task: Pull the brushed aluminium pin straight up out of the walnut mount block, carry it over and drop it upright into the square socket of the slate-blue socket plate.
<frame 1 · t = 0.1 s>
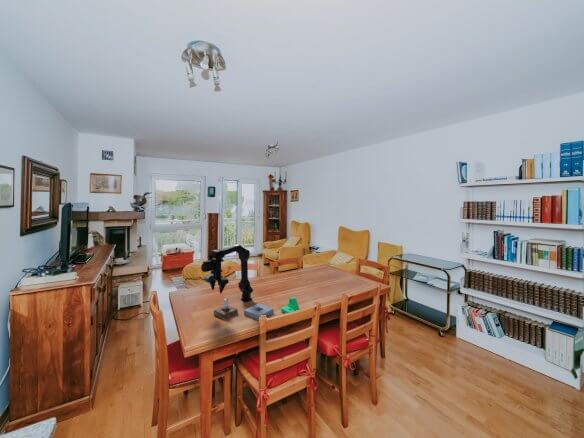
hand: (216, 291, 168), 14 cm above the table, fingers open, 9 cm apart
mount block: (225, 313, 167), on the table
socket plate: (258, 313, 169), on the table
pin: (225, 306, 167), in the mount block
camera mount: (290, 313, 171), on the table
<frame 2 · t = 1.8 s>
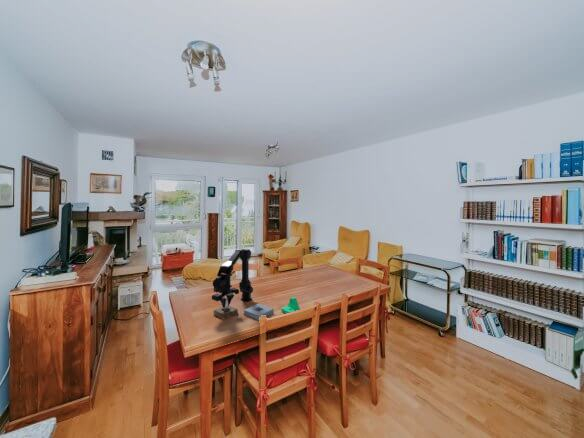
hand: (225, 306, 167), 5 cm above the table, fingers closed on pin, 3 cm apart
pin: (225, 306, 167), in the mount block, touching gripper
everything else where it was.
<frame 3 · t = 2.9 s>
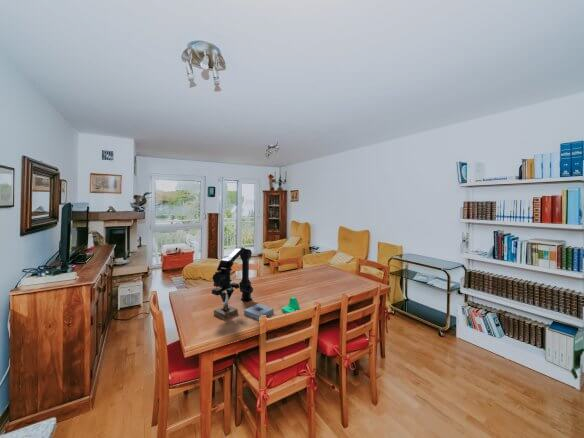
hand: (225, 301, 167), 9 cm above the table, fingers closed on pin, 3 cm apart
pin: (225, 301, 167), point 9 cm above the table, touching gripper
everything else where it was.
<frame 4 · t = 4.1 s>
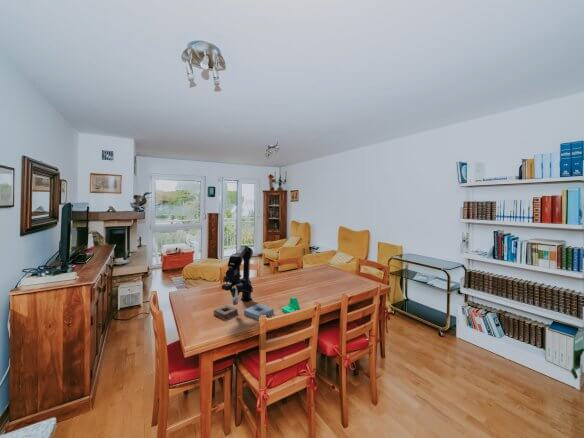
hand: (235, 296, 167), 12 cm above the table, fingers closed on pin, 3 cm apart
pin: (235, 296, 167), point 12 cm above the table, touching gripper
everything else where it was.
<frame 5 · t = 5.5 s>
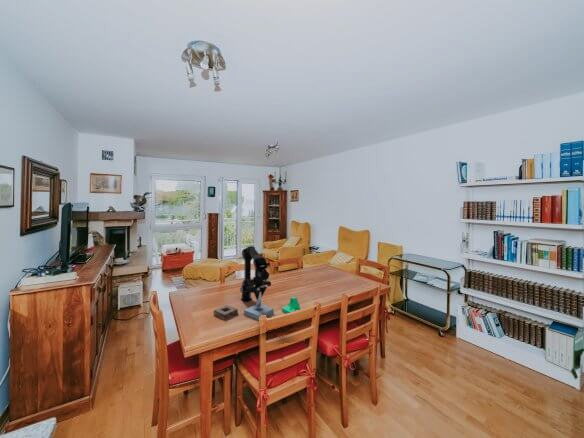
hand: (258, 298, 168), 10 cm above the table, fingers closed on pin, 3 cm apart
pin: (259, 298, 168), point 10 cm above the table, touching gripper
everything else where it was.
when the fingers open (6 cm above the table, at t = 6.5 s): pin drops 1 cm, resting in socket plate.
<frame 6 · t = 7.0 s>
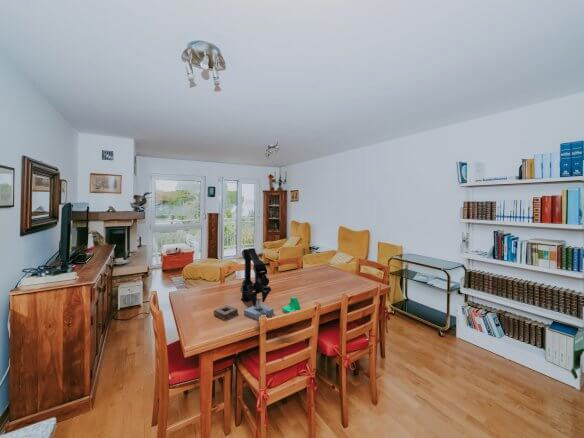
hand: (258, 304, 169), 6 cm above the table, fingers open, 8 cm apart
pin: (258, 306, 169), in the socket plate
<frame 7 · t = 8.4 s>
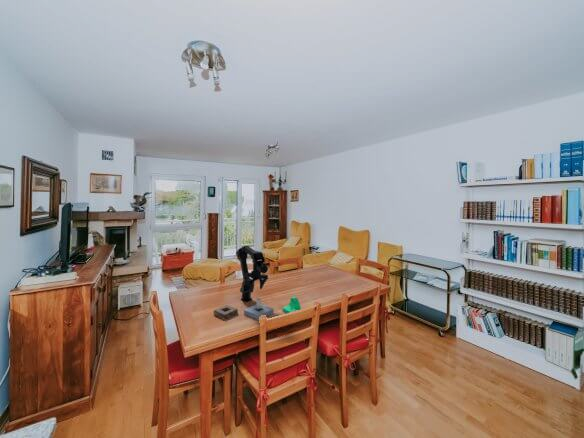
hand: (256, 290, 179), 12 cm above the table, fingers open, 9 cm apart
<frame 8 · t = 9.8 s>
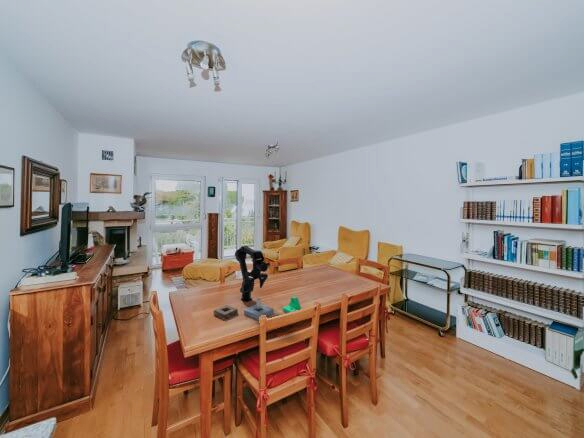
hand: (256, 289, 180), 12 cm above the table, fingers open, 9 cm apart
at the end: pin 0.0 cm off-centre on the socket plate, point 5.0 cm above the socket plate's base; pin tilted 0°; the gripper is holding nothing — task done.
